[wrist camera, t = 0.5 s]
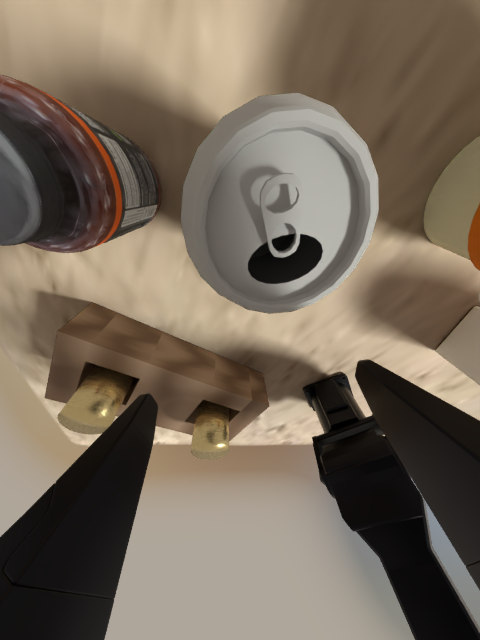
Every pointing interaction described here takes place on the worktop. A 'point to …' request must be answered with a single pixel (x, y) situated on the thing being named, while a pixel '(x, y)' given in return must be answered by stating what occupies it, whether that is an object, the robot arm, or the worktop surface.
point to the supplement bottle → (67, 175)
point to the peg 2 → (210, 431)
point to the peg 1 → (95, 401)
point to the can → (279, 203)
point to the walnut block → (154, 370)
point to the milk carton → (464, 345)
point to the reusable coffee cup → (457, 205)
